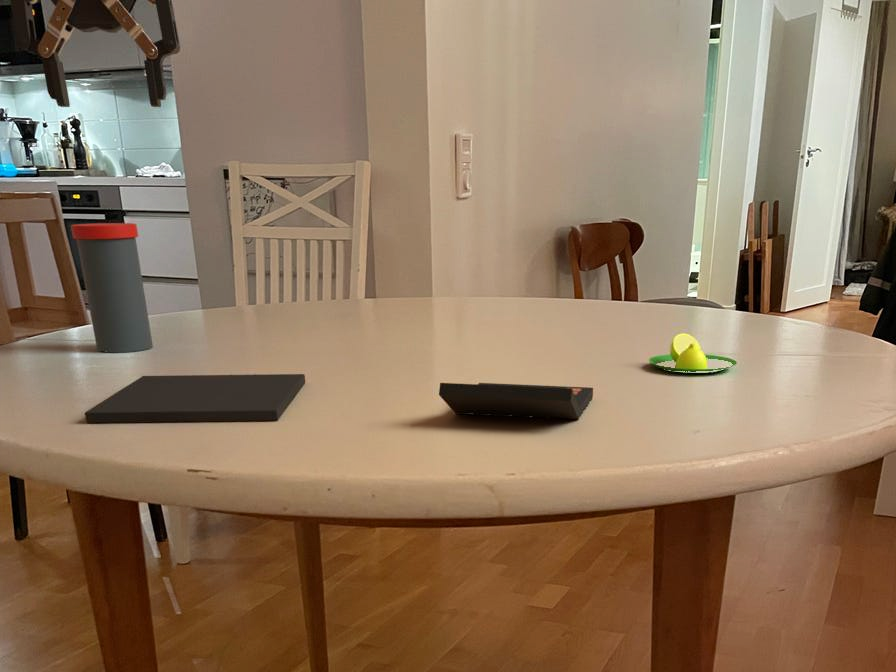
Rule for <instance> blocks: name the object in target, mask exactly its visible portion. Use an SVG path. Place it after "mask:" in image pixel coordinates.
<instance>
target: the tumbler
mask: <svg viewBox="0 0 896 672" xmlns="http://www.w3.org/2000/svg"><path fill="white" fill-rule="evenodd" d="M70 230H71V234H72V238H73V239H74V240H75V239H76V245H77V249H78V254H79V259H80V265H81V270H82V276H83V282H84V286H85V287H84V288H85V291H86V297H87V302H88V309H89V313H90V318H91V323H92V328H93V335H94V340H95V345H96V350H97V349H98V350H100V351H99V352H101V351H107V352H106V353H109V352H122V353H134V352H133V351H135V352H142V351H146V350H150V349H152V348H153V347H154V345H153V338H152V333H151V327H150V319H149V314H148V308H147V307H148V306H147V299H146V294H145V289H144V283H143V276H142V270H141V264H140V263H141V262H140V257H139V252H138V244H137V239H136V238H138V237H139V231H138V225H137V223H133V222H132V223H131V222H106V223H105V222H104V223H103V222H102V223H101V222H100V223H77V224H70ZM98 350H97V351H98Z"/></svg>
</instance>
